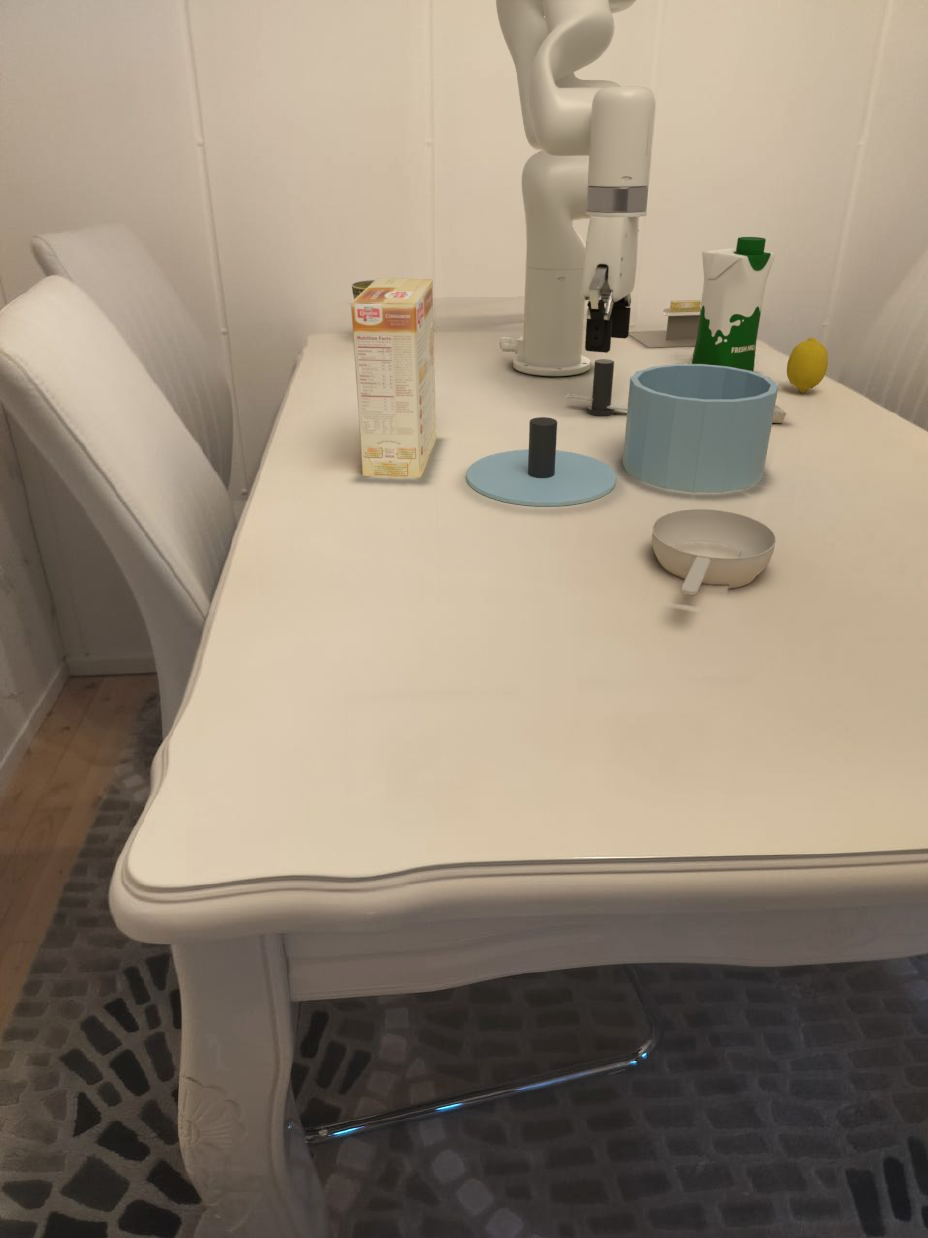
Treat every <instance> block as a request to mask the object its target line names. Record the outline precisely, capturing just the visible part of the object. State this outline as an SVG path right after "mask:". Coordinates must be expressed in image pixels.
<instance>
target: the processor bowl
mask: <svg viewBox="0 0 928 1238" xmlns="http://www.w3.org/2000/svg"><path fill="white" fill-rule="evenodd" d="M779 387H780V385H779V384H778V383H777V382H775V381H774V380H773V379H772V378H771V377H769V376H766V375H764V374H761V373H759V372H755V371H754V372H753V371H748V370H743V369H738V368H733V367H728V366H717V365H706V364H691V363H673V364H663V365H654V366H650V367H647V368H643V369H640V370H636V371H635V372H634V373H633V374H632V375H631V377H630V378H629V389H628V399H627V406H628V409H627V410H626V420H625V432H624V443H623V455H622V465H623V467H624V470H625V472H626V473H627V474H628V475H630V476H632V477H633V478H635V479H637V480H638V481H640V482H642V483H646V484H649V485H651V486H654V487H658V488H661V489H665V490H671V491H679V492H686V493H692V494H693V493H695V494H697V493H698V494H699V493H700V494H704V493H705V494H709V493H710V494H711V493H713V494H717V493H718V494H719V493H720V494H723V493H728V492H735V491H740V490H746V489H748V488H750V487H752V486H754V485H756V484H758V483H760V482H761V481H762V478H763V475H764V472H765V466H766V460H767V454H768V449H769V443H770V437H771V432H772V425H773V423H772V421H773V415H774V409H775V405H776V403H777V397H778V391H779Z"/></svg>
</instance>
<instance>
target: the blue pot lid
mask: <svg viewBox="0 0 928 1238" xmlns="http://www.w3.org/2000/svg"><path fill="white" fill-rule="evenodd" d="M557 434H558V420H557V419H555V418H553V417H546V416H545V417H544V416H541V417H539V416H538V417H534V418H533V417H532V418H531V419H529V429H528V449H517V450H508V451H507V450H506V451H502V452H498V453H493V454H489V455H486V456H485V457H482V458H480V459H478V460H476V461H474V462H473V463H471V465H470V466H469V467H468V468H467V470H466V481H467V483H468V485H469V487H471V489H473V490H474V491H476V492H477V493H479V494H480V495H483V496H485V497H486V498H489V499H493V500H496V501H500V502H504V503H508V504H513V505H520V506H527V507H528V506H529V507H531V506H532V507H562V506H563V507H564V506H573V505H578V504H579V505H580V504H583V503H588V502H592V501H595V500H597V499H600V498H602V497H604V496H606V495H607V494H609V493H610V492H612V491H613V490H614V488H615V486H616V484H617V474H616V472H615V470H614V469H613V468H612V467H611V466H610V465H608V464H607V463H605V462H603V461H601V460H599V459H597V458H594V457H592V456H588V455H585V454H582V453H577V452H572V451H566V450H558V449H557V438H558V437H557V436H558V435H557Z"/></svg>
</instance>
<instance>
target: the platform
mask: <svg viewBox="0 0 928 1238" xmlns="http://www.w3.org/2000/svg"><path fill="white" fill-rule="evenodd" d="M689 302H690V304H689ZM685 304H687V305H685ZM700 309H701V301H696V299H689V300H688V299H687V300H670V307H669V308H664V309H663V310H662V315H663V316H664V317H667V324H666V331H655V332H653V331H652V332H629V335H628V336H630V337H632V338H634V339H635V340H636V341H638V342H639V343H641V344H642V345H644V346H646V347H647V348H674V347H675V348H676V347H695V344H696V339H697V332H698V325H699V317H700Z"/></svg>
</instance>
